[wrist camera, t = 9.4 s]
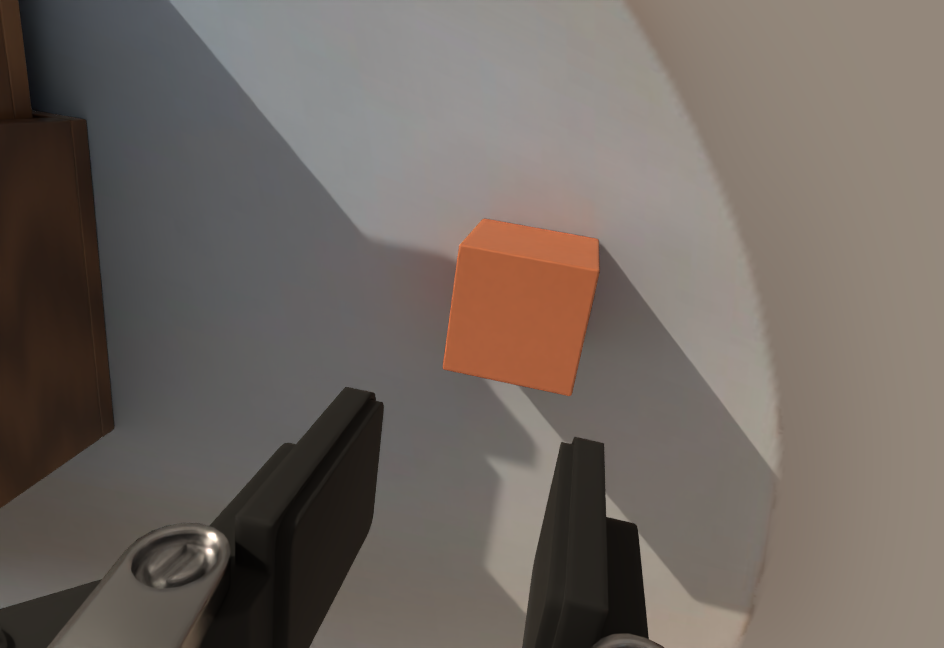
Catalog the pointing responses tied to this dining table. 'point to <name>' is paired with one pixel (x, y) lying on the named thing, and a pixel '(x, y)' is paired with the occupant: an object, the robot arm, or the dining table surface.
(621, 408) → the dining table surface
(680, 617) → the dining table surface
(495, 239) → the block
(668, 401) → the dining table surface
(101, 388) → the cabinet
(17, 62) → the drawer
